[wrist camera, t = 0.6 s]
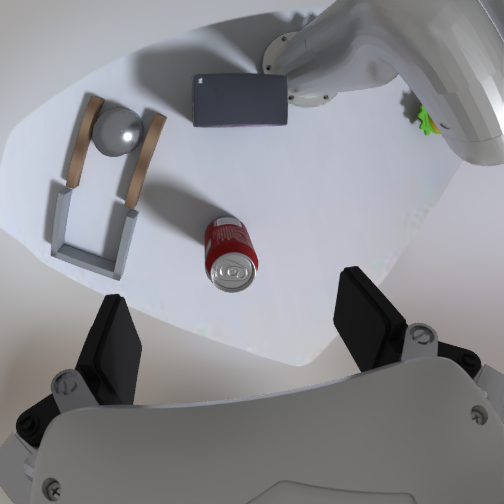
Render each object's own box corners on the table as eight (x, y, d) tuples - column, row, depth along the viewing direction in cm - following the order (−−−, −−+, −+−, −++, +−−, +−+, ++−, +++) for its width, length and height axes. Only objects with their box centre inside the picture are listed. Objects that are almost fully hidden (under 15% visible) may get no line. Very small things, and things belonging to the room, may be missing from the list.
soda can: (212, 209, 42) (215, 241, 31) (253, 222, 44) (269, 257, 33) (199, 248, 44) (198, 289, 34) (238, 258, 46) (249, 301, 36)
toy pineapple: (445, 128, 41) (463, 132, 36) (413, 138, 41) (432, 142, 36) (438, 96, 38) (457, 97, 33) (405, 102, 38) (424, 103, 33)
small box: (195, 128, 36) (191, 129, 27) (194, 85, 33) (190, 72, 24) (268, 126, 38) (288, 127, 28) (268, 84, 35) (288, 72, 25)
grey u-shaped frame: (66, 188, 36) (58, 192, 33) (138, 212, 40) (134, 218, 37) (57, 248, 40) (50, 255, 37) (123, 271, 44) (119, 280, 41)
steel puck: (109, 103, 32) (102, 102, 29) (150, 115, 34) (146, 114, 31) (94, 147, 34) (86, 149, 32) (134, 159, 37) (129, 162, 34)
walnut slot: (96, 97, 31) (91, 96, 29) (167, 117, 34) (165, 117, 33) (71, 183, 36) (65, 186, 34) (136, 205, 39) (133, 208, 38)
